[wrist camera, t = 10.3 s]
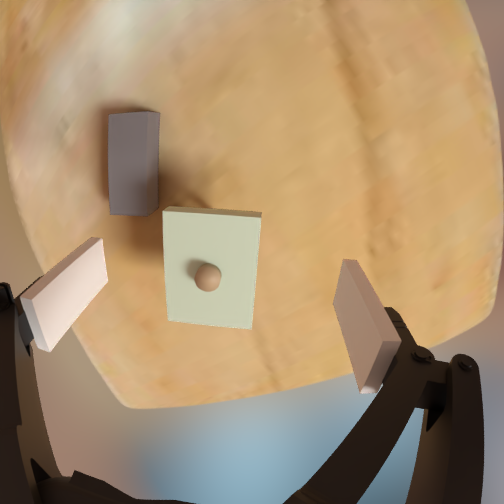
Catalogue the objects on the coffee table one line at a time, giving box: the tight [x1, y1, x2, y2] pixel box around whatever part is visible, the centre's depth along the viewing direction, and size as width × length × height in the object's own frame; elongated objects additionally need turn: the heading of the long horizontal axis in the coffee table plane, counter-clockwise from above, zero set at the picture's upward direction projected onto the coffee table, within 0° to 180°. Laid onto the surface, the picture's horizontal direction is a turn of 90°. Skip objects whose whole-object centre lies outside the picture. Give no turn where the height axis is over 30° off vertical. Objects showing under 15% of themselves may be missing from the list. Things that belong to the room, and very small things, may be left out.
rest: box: [108, 111, 160, 216], centre depth 33 cm, size 12×5×4 cm, turn 176°
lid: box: [163, 206, 261, 329], centre depth 30 cm, size 12×9×3 cm
